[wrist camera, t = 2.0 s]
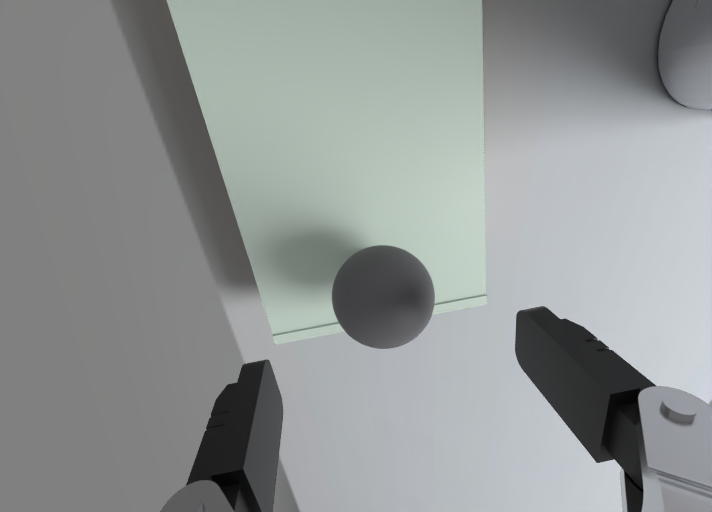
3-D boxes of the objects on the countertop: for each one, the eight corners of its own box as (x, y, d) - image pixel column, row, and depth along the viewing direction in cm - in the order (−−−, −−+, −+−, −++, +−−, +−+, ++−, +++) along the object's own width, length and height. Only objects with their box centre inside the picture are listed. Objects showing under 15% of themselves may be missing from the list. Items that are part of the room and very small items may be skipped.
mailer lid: (173, -50, 15) (-10, -246, 7) (451, -97, 15) (604, -342, 7) (281, 314, 23) (257, 431, 14) (465, 279, 23) (547, 375, 15)
